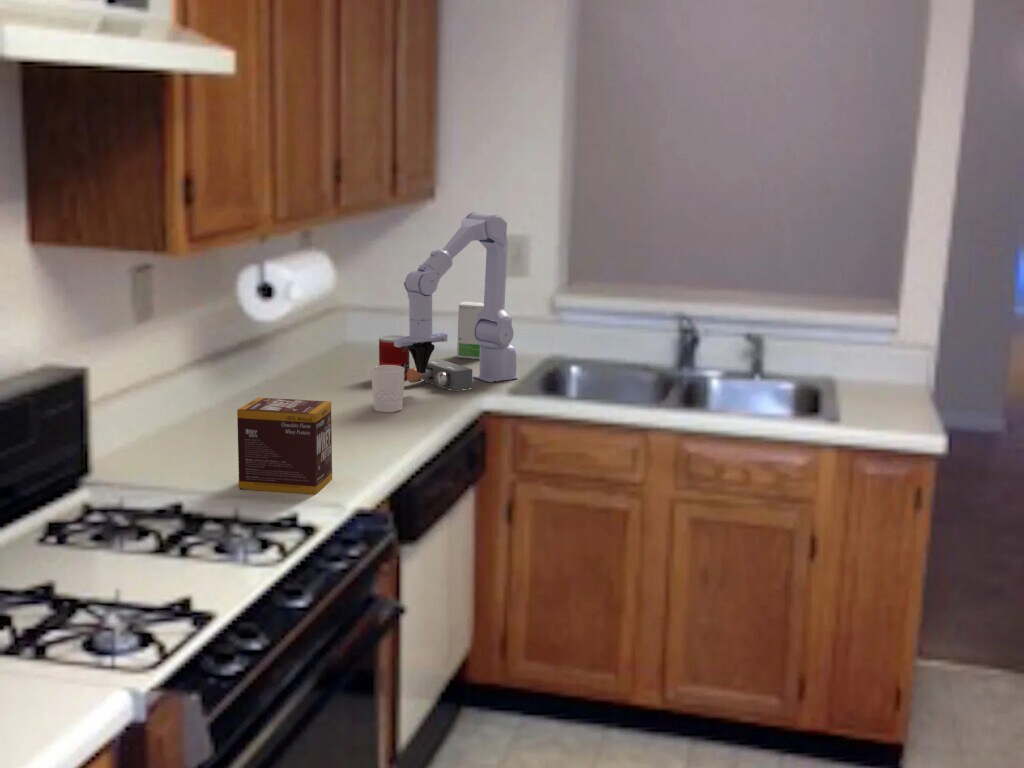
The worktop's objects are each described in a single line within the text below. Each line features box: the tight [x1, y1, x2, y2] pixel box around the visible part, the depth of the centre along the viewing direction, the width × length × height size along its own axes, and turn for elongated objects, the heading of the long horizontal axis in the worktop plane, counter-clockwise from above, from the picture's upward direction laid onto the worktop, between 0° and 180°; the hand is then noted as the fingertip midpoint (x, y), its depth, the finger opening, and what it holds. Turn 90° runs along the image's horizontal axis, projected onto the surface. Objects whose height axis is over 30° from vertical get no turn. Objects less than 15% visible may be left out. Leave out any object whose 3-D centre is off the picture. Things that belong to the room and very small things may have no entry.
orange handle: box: [406, 367, 433, 384], centre depth 329 cm, size 8×4×4 cm, turn 126°
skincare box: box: [456, 301, 484, 360], centre depth 365 cm, size 8×7×16 cm
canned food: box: [378, 334, 410, 381], centre depth 335 cm, size 8×8×11 cm
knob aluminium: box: [435, 372, 451, 388], centre depth 325 cm, size 8×4×4 cm, turn 126°
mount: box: [422, 359, 473, 392], centre depth 329 cm, size 6×15×5 cm, turn 36°
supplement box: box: [236, 397, 333, 495], centre depth 240 cm, size 10×15×16 cm
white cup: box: [370, 365, 405, 413], centre depth 301 cm, size 8×8×10 cm
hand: (421, 372), depth 319 cm, fingers closed
